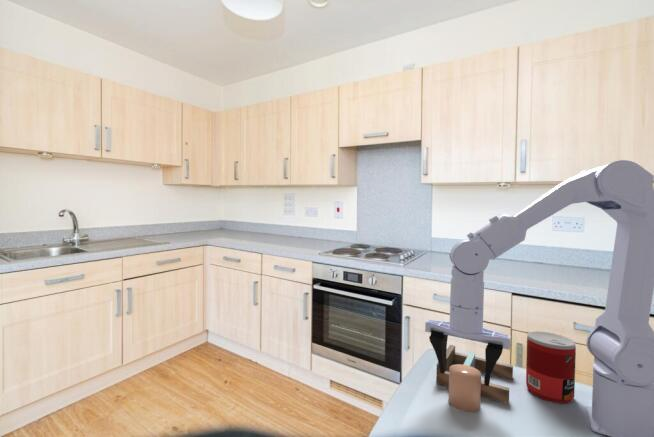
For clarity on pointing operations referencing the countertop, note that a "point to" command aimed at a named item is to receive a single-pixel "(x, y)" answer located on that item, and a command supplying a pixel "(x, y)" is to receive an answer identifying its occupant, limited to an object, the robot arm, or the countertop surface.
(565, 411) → the countertop surface
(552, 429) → the countertop surface
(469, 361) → the plate
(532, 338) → the canned food
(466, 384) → the tan rounded cylinder
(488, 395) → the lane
